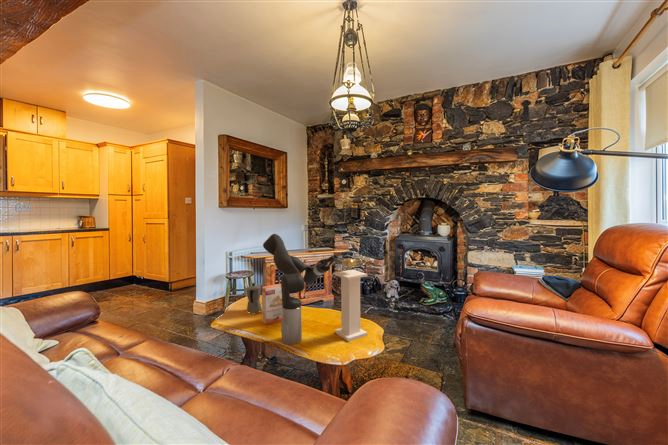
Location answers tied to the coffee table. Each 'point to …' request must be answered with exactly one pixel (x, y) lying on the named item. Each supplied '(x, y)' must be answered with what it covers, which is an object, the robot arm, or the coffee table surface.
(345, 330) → the white pillar
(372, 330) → the coffee table surface
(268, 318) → the cracker box
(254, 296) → the coffeepot
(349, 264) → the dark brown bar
